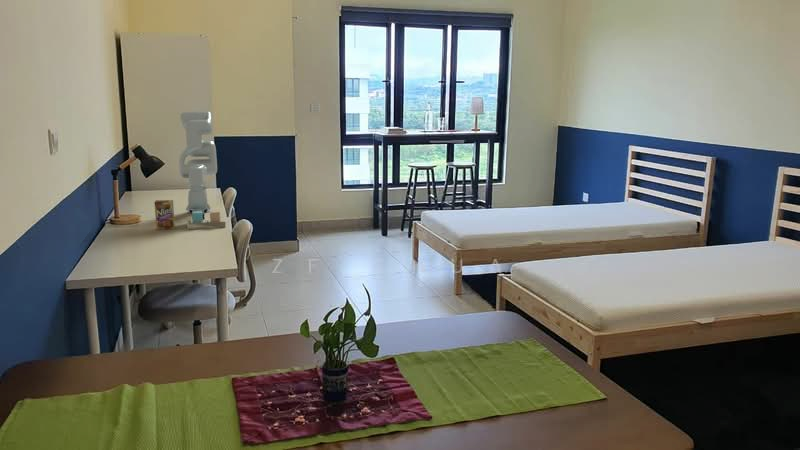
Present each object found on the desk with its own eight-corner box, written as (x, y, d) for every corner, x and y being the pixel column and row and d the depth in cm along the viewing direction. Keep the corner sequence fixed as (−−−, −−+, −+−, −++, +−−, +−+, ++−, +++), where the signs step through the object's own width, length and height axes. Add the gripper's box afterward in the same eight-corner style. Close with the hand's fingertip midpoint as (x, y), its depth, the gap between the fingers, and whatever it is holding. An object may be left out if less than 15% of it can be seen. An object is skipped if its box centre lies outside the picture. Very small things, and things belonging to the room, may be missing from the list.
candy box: (156, 229, 328) (153, 201, 325) (158, 227, 332) (155, 199, 329) (173, 229, 329) (171, 201, 326) (175, 227, 334) (173, 199, 330)
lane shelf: (188, 224, 340) (188, 219, 339) (225, 223, 344) (225, 217, 344) (187, 229, 330) (186, 223, 329) (225, 227, 335) (225, 221, 334)
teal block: (194, 221, 347) (193, 207, 346) (204, 221, 349) (203, 207, 347) (192, 227, 333) (191, 213, 331) (202, 227, 334) (201, 212, 332)
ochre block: (211, 225, 340) (210, 210, 338) (220, 224, 341) (219, 210, 339) (210, 227, 335) (209, 212, 333) (220, 226, 336) (219, 212, 334)
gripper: (212, 187, 348) (214, 218, 352) (181, 188, 344) (184, 220, 348) (212, 189, 341) (214, 221, 345) (180, 190, 337) (183, 223, 341)
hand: (199, 220), depth 346 cm, fingers closed on teal block, 3 cm apart
